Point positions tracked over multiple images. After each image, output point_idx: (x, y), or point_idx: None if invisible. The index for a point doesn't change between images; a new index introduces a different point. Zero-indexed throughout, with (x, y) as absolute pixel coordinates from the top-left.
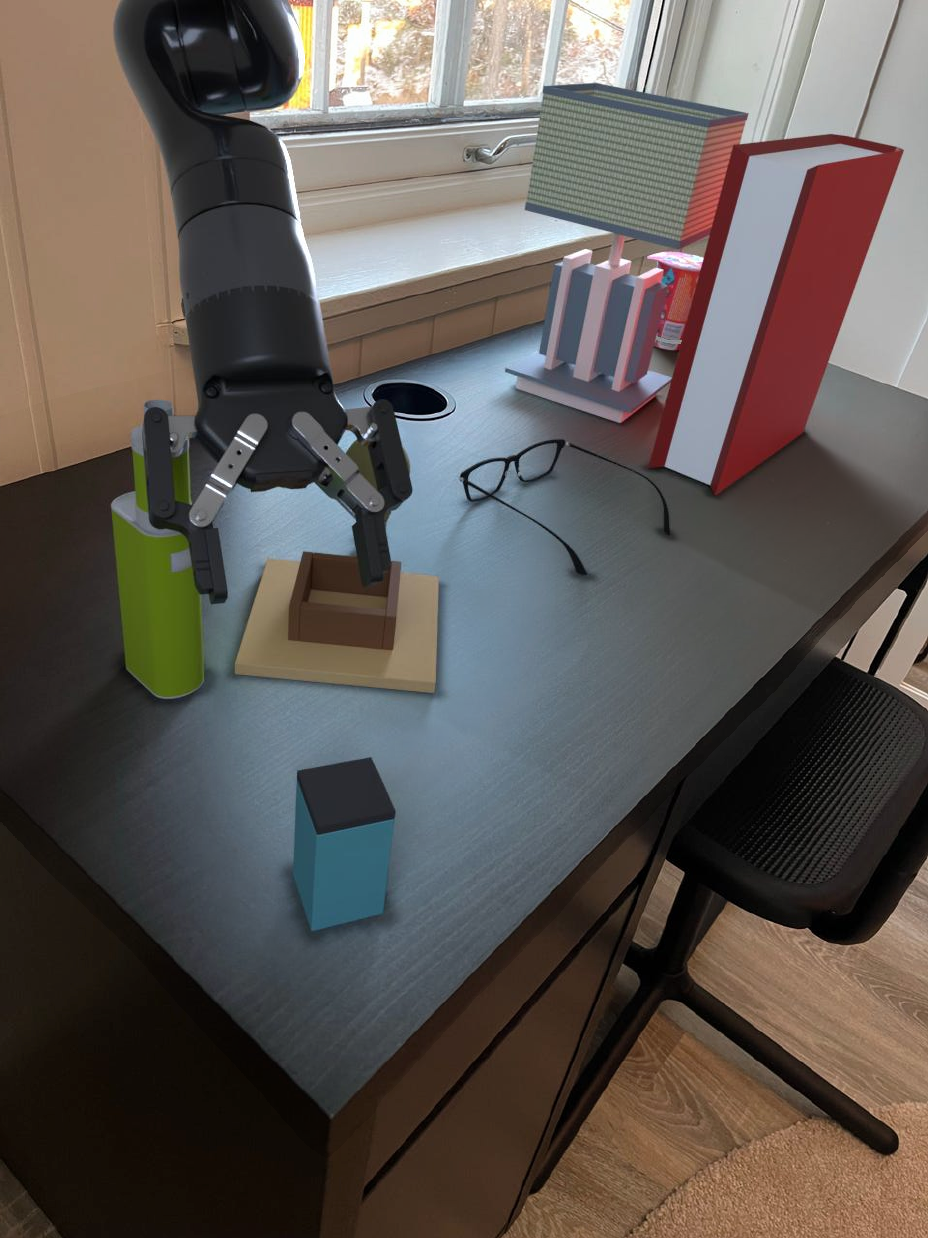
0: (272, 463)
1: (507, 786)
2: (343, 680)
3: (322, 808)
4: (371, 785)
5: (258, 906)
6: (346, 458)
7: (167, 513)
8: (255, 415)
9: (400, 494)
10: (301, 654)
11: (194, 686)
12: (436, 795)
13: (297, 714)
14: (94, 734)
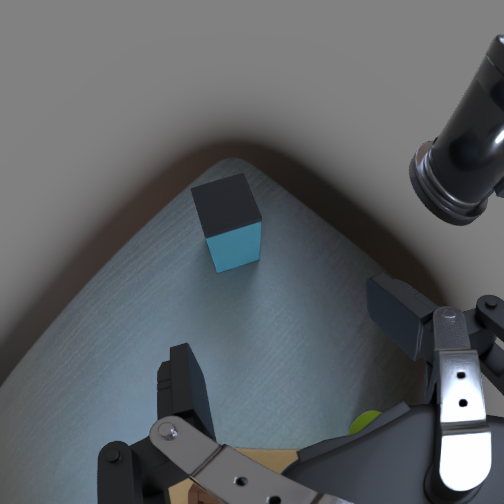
0: (389, 440)
1: (117, 339)
2: (236, 448)
3: (240, 186)
4: (206, 207)
5: (276, 237)
6: (219, 487)
7: (481, 300)
8: (476, 479)
9: (119, 448)
10: (273, 470)
11: (353, 424)
12: (165, 330)
13: (271, 411)
14: (404, 365)
